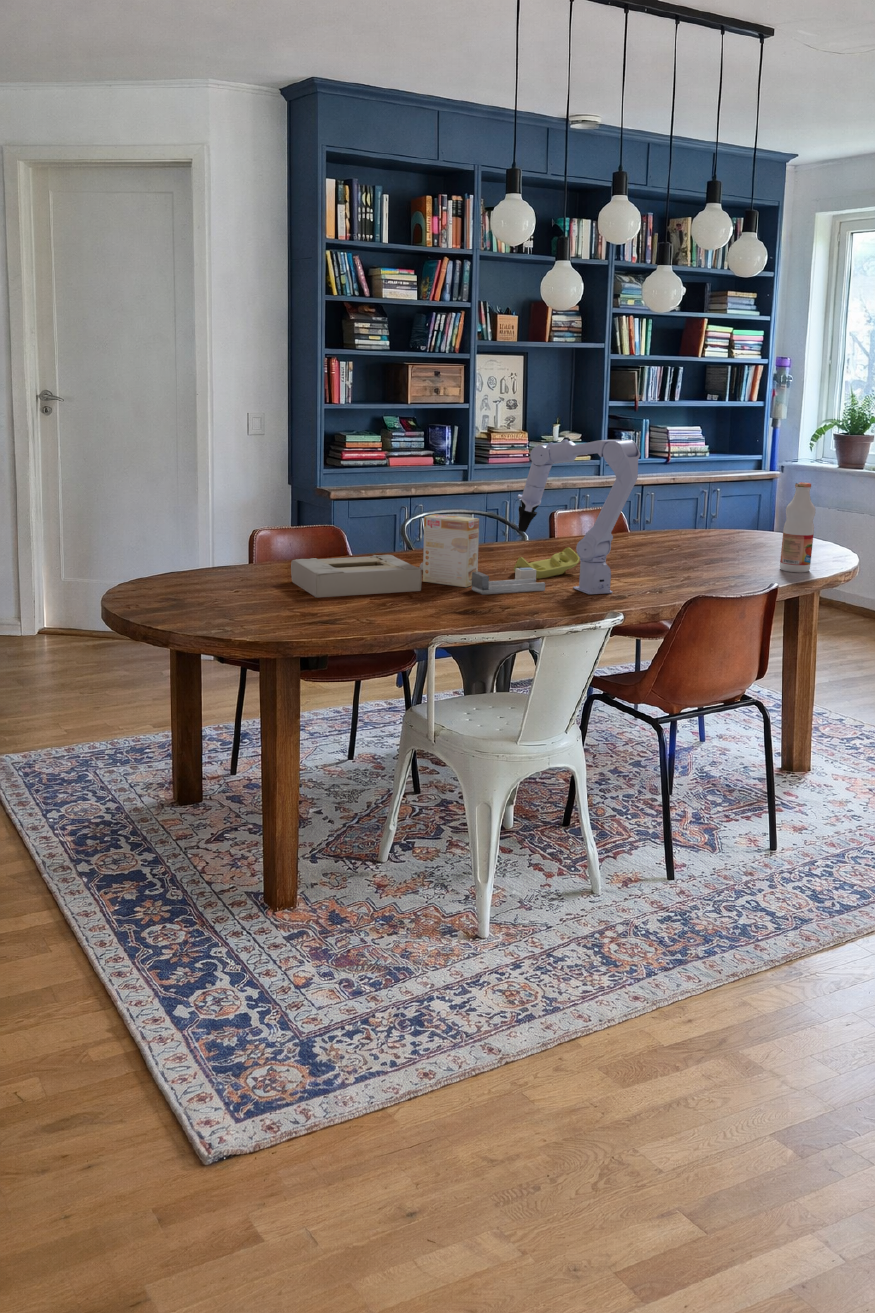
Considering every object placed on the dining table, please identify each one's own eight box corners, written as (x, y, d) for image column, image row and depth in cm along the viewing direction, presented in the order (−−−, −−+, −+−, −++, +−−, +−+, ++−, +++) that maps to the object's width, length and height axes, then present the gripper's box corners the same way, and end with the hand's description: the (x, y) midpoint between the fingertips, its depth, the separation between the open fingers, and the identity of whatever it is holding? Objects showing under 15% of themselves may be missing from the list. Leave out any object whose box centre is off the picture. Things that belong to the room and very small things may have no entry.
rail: (544, 590, 339) (545, 572, 337) (481, 594, 331) (482, 576, 330) (533, 585, 345) (534, 568, 344) (471, 589, 337) (472, 571, 336)
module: (535, 584, 347) (536, 569, 346) (520, 585, 345) (521, 570, 344) (529, 582, 350) (530, 566, 349) (514, 583, 348) (515, 567, 347)
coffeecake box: (478, 584, 346) (480, 517, 341) (466, 588, 340) (468, 520, 335) (434, 578, 353) (435, 513, 348) (421, 581, 347) (423, 515, 342)
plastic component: (536, 572, 354) (517, 553, 359) (530, 592, 358) (511, 573, 364) (585, 562, 364) (566, 543, 370) (578, 581, 369) (559, 562, 375)
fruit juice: (776, 567, 385) (785, 480, 378) (806, 568, 384) (815, 481, 377) (782, 572, 376) (791, 484, 369) (812, 573, 375) (821, 485, 368)
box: (392, 577, 355) (290, 583, 342) (392, 552, 353) (290, 556, 340) (422, 594, 335) (315, 600, 322) (423, 567, 333) (316, 572, 320)
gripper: (524, 474, 352) (511, 516, 357) (520, 487, 339) (507, 530, 344) (546, 481, 352) (534, 523, 357) (544, 493, 338) (531, 537, 344)
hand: (522, 527), depth 351 cm, fingers open, 7 cm apart
